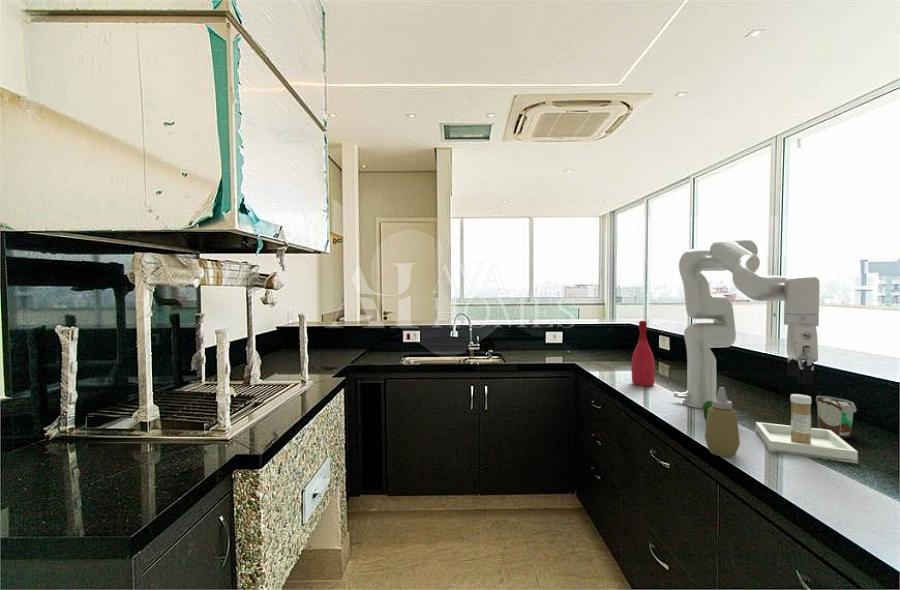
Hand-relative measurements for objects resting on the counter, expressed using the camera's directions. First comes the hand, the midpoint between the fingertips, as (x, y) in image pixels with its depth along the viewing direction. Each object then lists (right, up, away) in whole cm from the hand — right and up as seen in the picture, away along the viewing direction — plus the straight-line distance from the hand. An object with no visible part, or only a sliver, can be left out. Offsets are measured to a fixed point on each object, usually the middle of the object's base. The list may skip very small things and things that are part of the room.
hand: (799, 379), depth 117 cm
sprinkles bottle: (0, -18, 0) cm, 18 cm away
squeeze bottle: (-26, -19, -5) cm, 33 cm away
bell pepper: (-13, -19, +15) cm, 28 cm away
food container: (+21, -19, +10) cm, 29 cm away
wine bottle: (-9, -18, +77) cm, 79 cm away
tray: (0, -19, 0) cm, 19 cm away
